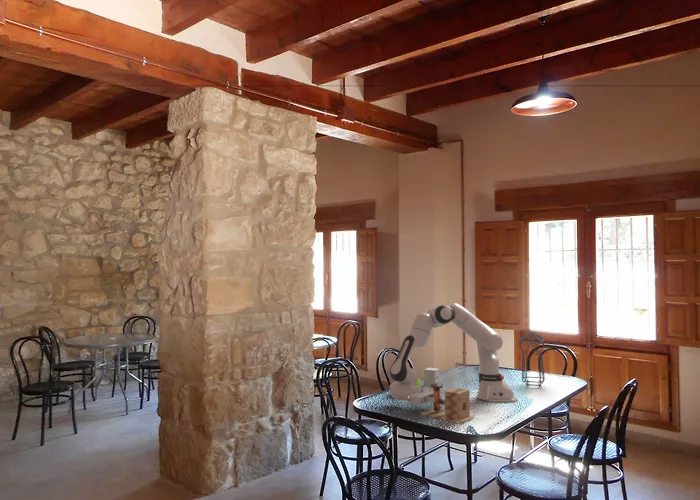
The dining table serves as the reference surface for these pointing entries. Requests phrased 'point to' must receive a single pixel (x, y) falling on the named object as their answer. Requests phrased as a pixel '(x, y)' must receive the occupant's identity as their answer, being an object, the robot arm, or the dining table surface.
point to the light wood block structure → (453, 407)
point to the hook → (437, 396)
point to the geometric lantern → (537, 355)
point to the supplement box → (431, 376)
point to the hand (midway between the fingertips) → (438, 398)
